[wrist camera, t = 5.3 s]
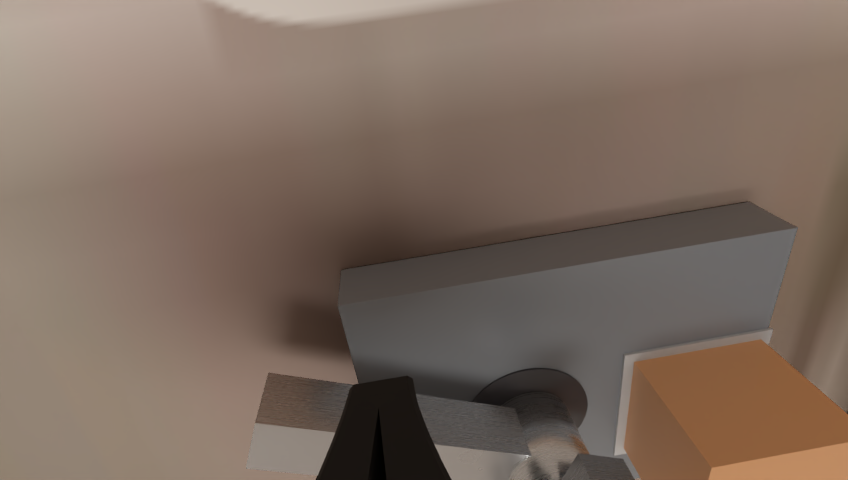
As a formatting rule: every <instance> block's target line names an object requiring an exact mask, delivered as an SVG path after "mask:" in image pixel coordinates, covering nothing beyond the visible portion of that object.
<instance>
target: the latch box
mask: <svg viewBox="0 0 848 480" xmlns="http://www.w3.org/2000/svg"><path fill="white" fill-rule="evenodd" d="M797 229H798V227H796V226H794V225H792V224H790V223H788V222H786V221H784V220H783V219H781V218H779V217H777V216H775V215H773V214H771V213H769V212H768V211H766V210H764V209H762V208H760V207H758V206H756V205H754V204H753V203H751V202H745V203H739V204H733V205H727V206H721V207H715V208H709V209H703V210H697V211H691V212H685V213H679V214H673V215H667V216H661V217H655V218H649V219H643V220H637V221H631V222H625V223H620V224H614V225H608V226H602V227H596V228H590V229H584V230H578V231H572V232H566V233H560V234H554V235H548V236H542V237H536V238H530V239H524V240H518V241H512V242H506V243H500V244H494V245H488V246H482V247H476V248H470V249H464V250H458V251H452V252H446V253H440V254H434V255H428V256H422V257H417V258H411V259H405V260H399V261H393V262H387V263H381V264H375V265H369V266H363V267H357V268H351V269H345V270H341V277H340V287H339V297H338V309H339V313H340V317H341V320H342V324H343V328H344V331H345V335H346V339H347V342H348V346H349V350H350V353H351V357H352V361H353V364H354V368H355V372H356V375H357V379H358V383H359V384H361V383H366V382H372V381H378V380H384V379H390V378H396V377H401V376H409V377H411V378H413V382H414V387H415V392H416V394H420V395H427V396H434V397H441V398H448V399H455V400H462V401H468V402H475V403H482V404H489V405H496V406H502V405H503V404H504V403H505V402H507V401H508V400H510V399H512V398H514V397H516V396H519V395H522V394H526V393H532V392H544V393H550V394H553V395H555V396H557V397H559V398H560V399H561V400H562V401H563V402H564V403H565V404H566V406H567V408H568V410H569V412H570V415H571V417H572V419H573V421H574V423H575V425H576V427H577V429H578V431H579V433H580V435H581V437H582V439H583V441H584V443H585V445H586V447H587V450H588V452H589V454H590V455H597V456H605V457H613V458H621V459H624V461H625V463H626V465H627V467H628V468H629V470H630V472H631V474H632V476H633V477H634V479H636V478H640V476H639V474H638V473H637V471H636V469H635V467H634V466H633V464H632V462H631V460H630V458H629V457H628V455H627V453H626V451H625V450H624V442H625V433H626V425H627V417H628V409H629V400H630V392H631V384H632V376H633V367H634V362H636V361H642V360H648V359H653V358H659V357H664V356H670V355H676V354H681V353H687V352H692V351H698V350H704V349H709V348H715V347H721V346H726V345H732V344H737V343H743V342H749V341H754V340H760V339H761V340H763V341H764V342H765V343H766V344H767V345H769V342H770V339H771V336H772V332H773V329H772V328H768V327H769V324H770V320H771V317H772V314H773V310H774V307H775V303H776V300H777V297H778V293H779V290H780V287H781V283H782V280H783V276H784V273H785V270H786V266H787V263H788V259H789V256H790V253H791V249H792V246H793V242H794V239H795V236H796V232H797Z"/></svg>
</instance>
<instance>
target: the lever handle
mask: <svg viewBox="0 0 848 480" xmlns="http://www.w3.org/2000/svg"><path fill="white" fill-rule="evenodd" d="M352 386H353V385H351V384H344V383H337V382H330V381H323V380H316V379H309V378H302V377H295V376H288V375H281V374H275V373H268V376H267V380H266V384H265V388H264V391H263V395H262V399H261V403H260V406H259V410H258V414H257V418H256V421H255V426H254V431H253V436H252V440H251V445H250V450H249V455H248V460H247V465H246V469H254V470H264V471H275V472H285V473H296V474H306V475H316V476H318V474H319V471H320V469H321V466H322V464H323V462H324V459H325V457H326V454H327V452H328V450H329V447H330V445H331V442H332V440H333V437H334V435H335V432H336V429H337V427H338V424H339V421H340V418H341V415H342V412H343V409H344V406H345V403H346V400H347V397H348V393H349V389H350V388H351V387H352ZM416 397H417V401H418V405H419V408H420V411H421V413H422V416H423V419H424V421H425V424H426V427H427V429H428V431H429V434H430V436H431V438H432V440H433V443H434V445H435V447H436V449H437V451H438V453H439V455H440V458H441V460H442V462H443V464H444V466H445V468H446V470H447V472H448V474H449V476H450V477H451V479H452V480H635V479H634V477H633V476H632V474H631V472H630V470H629V468H628V467H627V465H626V463H625V461H624V459H621V458H613V457H605V456H597V455H590V454H589V452H588V450H587V447H586V445H585V443H584V441H583V439H582V437H581V435H580V433H579V431H578V429H577V427H576V425H575V423H574V421H573V419H572V417H571V415H570V412H569V410H568V408H567V406H566V404H565V403H564V402H563V401H562V400H561V399H560V398H559V397H557V396H555V395H553V394H550V393H544V392H532V393H526V394H522V395H519V396H516V397H514V398H512V399H510V400H508V401H507V402H505V403H504V404H503V405H502V406H496V405H489V404H482V403H475V402H468V401H462V400H455V399H448V398H441V397H434V396H427V395H420V394H416Z"/></svg>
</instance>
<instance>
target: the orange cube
mask: <svg viewBox="0 0 848 480" xmlns="http://www.w3.org/2000/svg"><path fill="white" fill-rule="evenodd" d="M624 450H625V451H626V453H627V455H628V457H629V458H630V460H631V462H632V464H633V466H634V467H635V469H636V471H637V473H638V474H639V476H640V478H641V480H848V414H847V413H845V412H844V411H843V410H842V409H841V408H840V407H839V406H837V405H836V404H835V403H834V402H833V401H832V400H831V399H829V398H828V397H827V396H826V395H825V394H824V393H822V392H821V391H820V390H819V389H818V388H817V387H816V386H814V385H813V384H812V383H811V382H810V381H809V380H807V379H806V378H805V377H804V376H803V375H802V374H801V373H799V372H798V371H797V370H796V369H795V368H794V367H792V366H791V365H790V364H789V363H788V362H787V361H786V360H784V359H783V358H782V357H781V356H780V355H779V354H778V353H776V352H775V351H774V350H773V349H772V348H771V347H769V346H768V345H767V344H766V343H765V342H764V341H763V340H761V339H760V340H754V341H749V342H743V343H737V344H732V345H726V346H721V347H715V348H709V349H704V350H698V351H692V352H687V353H681V354H676V355H670V356H664V357H659V358H653V359H648V360H642V361H636V362H634V367H633V376H632V384H631V392H630V400H629V409H628V417H627V425H626V433H625V442H624Z"/></svg>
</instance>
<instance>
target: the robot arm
mask: <svg viewBox="0 0 848 480" xmlns="http://www.w3.org/2000/svg"><path fill="white" fill-rule="evenodd" d="M316 480H452V479H451V477H450V476H449V474H448V472H447V470H446V468H445V466H444V464H443V462H442V460H441V458H440V455H439V453H438V451H437V449H436V447H435V445H434V443H433V440H432V438H431V436H430V434H429V431H428V429H427V427H426V424H425V421H424V419H423V416H422V413H421V411H420V408H419V405H418V401H417V397H416V392H415V387H414V382H413V378H411V377H409V376H401V377H396V378H390V379H384V380H378V381H372V382H366V383H361V384H355V385H353V386H352V387H351V388H350V389H349V393H348V397H347V400H346V403H345V406H344V409H343V412H342V415H341V418H340V421H339V424H338V427H337V429H336V432H335V435H334V437H333V440H332V442H331V445H330V447H329V450H328V452H327V454H326V457H325V459H324V462H323V464H322V466H321V469H320V471H319V474H318V476H317V478H316Z"/></svg>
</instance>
